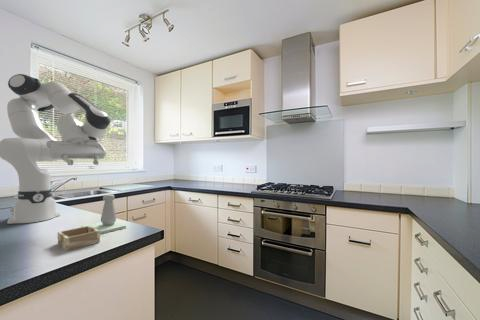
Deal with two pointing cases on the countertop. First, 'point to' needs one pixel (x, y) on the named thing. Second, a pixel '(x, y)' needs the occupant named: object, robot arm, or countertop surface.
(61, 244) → the wooden box
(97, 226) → the sage mat
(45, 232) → the countertop surface
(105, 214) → the salt shaker
